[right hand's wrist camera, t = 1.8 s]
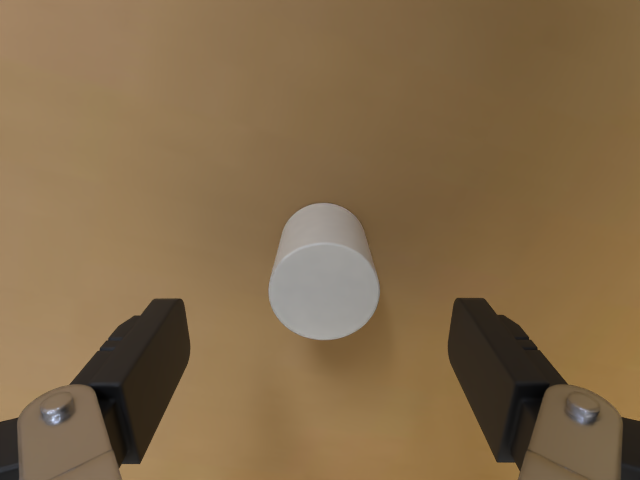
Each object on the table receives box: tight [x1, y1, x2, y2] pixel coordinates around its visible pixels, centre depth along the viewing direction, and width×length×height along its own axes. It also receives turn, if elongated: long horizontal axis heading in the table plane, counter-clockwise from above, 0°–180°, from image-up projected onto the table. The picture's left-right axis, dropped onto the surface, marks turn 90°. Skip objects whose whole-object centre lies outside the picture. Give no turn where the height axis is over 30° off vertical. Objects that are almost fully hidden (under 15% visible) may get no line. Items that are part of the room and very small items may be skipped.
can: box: [268, 203, 380, 340], centre depth 15 cm, size 4×4×4 cm
